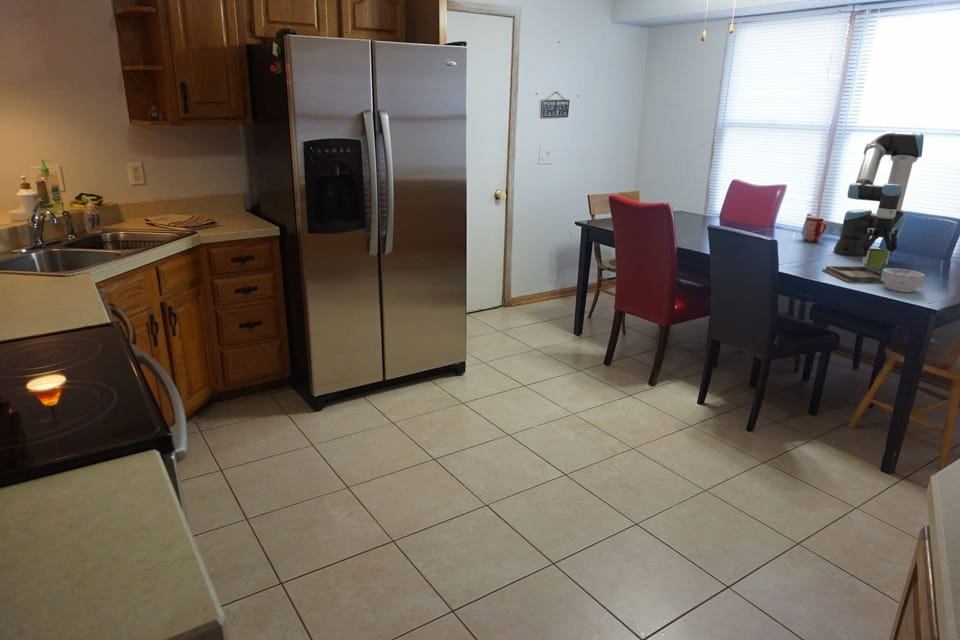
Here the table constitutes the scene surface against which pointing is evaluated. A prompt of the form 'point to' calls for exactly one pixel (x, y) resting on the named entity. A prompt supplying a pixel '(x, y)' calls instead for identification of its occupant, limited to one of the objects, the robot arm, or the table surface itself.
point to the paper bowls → (902, 279)
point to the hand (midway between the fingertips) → (874, 263)
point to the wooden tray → (854, 274)
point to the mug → (814, 228)
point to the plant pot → (876, 258)
